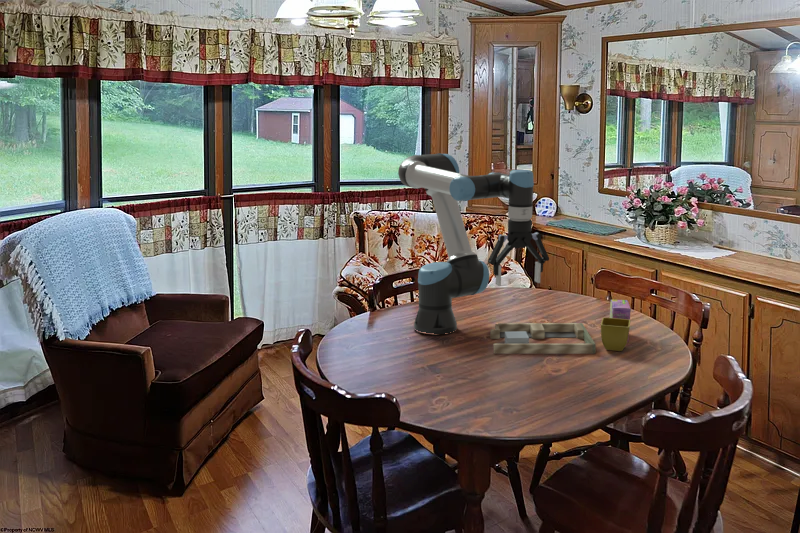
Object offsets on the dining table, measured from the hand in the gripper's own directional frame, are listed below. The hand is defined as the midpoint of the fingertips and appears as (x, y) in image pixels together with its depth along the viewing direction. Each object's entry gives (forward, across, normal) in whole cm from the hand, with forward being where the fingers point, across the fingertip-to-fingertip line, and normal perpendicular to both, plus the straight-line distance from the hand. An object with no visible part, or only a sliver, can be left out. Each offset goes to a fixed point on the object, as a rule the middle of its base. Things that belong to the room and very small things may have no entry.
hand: (517, 283), depth 240 cm
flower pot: (+20, +28, -14) cm, 37 cm away
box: (+20, +36, -4) cm, 41 cm away
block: (+21, 0, -2) cm, 21 cm away
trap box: (+21, +8, -1) cm, 22 cm away
